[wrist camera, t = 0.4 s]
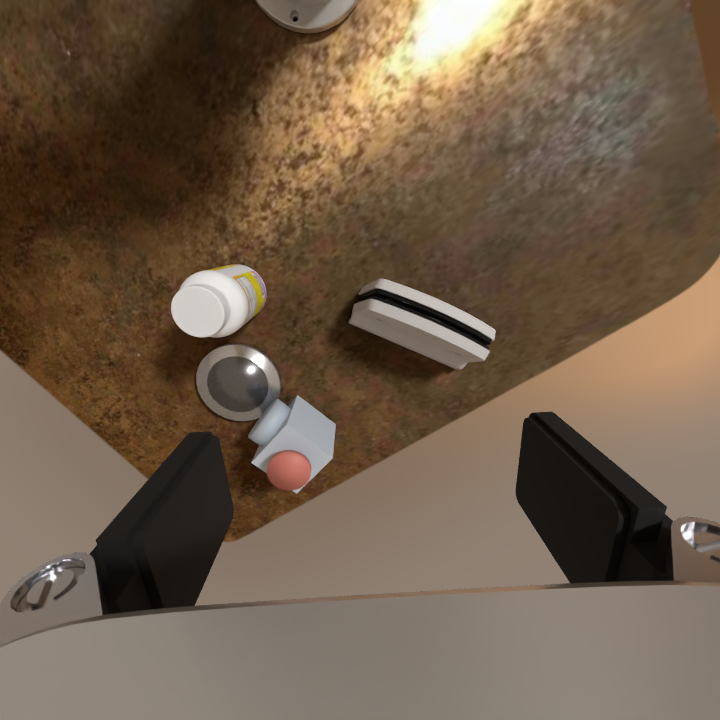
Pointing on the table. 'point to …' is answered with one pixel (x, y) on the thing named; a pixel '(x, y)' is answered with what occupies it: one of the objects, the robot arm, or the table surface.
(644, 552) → the robot arm
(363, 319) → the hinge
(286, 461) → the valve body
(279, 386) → the gray metal plate
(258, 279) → the supplement bottle
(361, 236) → the table surface
